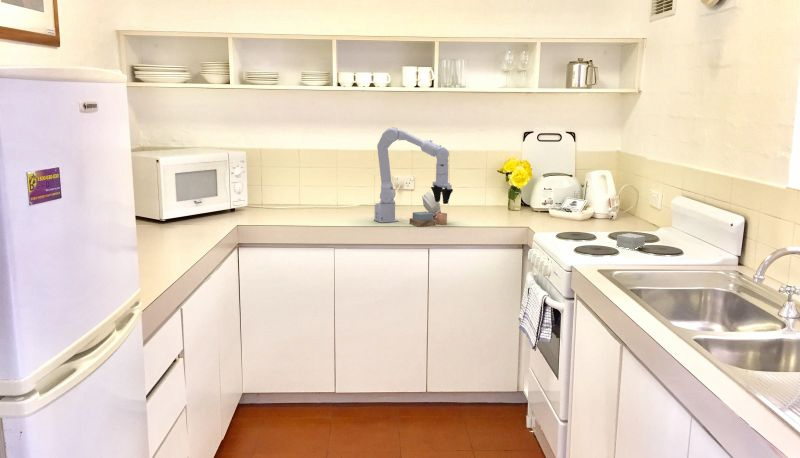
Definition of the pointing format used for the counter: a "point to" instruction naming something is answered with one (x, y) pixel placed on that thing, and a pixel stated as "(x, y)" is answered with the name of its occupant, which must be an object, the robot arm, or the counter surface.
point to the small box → (630, 240)
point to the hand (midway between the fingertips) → (441, 202)
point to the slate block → (422, 216)
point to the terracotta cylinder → (441, 218)
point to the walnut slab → (422, 223)
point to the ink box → (431, 204)
